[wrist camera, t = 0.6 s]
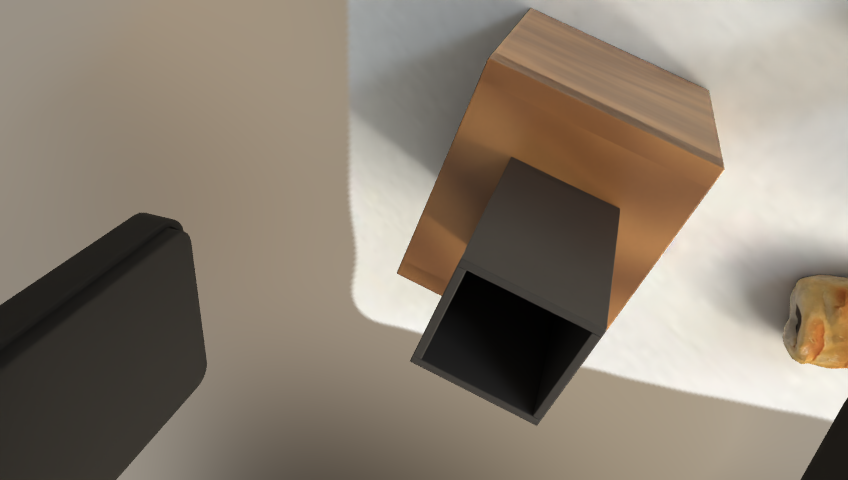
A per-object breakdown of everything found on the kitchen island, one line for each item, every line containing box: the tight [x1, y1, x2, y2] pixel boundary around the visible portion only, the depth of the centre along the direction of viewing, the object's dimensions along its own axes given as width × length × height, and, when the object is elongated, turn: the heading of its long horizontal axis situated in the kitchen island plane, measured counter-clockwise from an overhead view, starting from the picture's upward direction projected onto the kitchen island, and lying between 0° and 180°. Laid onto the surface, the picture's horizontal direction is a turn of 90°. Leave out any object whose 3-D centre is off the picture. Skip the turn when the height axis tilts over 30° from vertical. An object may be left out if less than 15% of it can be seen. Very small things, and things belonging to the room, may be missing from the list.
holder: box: [410, 157, 620, 425], centre depth 30 cm, size 6×6×10 cm
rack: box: [397, 8, 724, 360], centre depth 39 cm, size 14×12×12 cm
